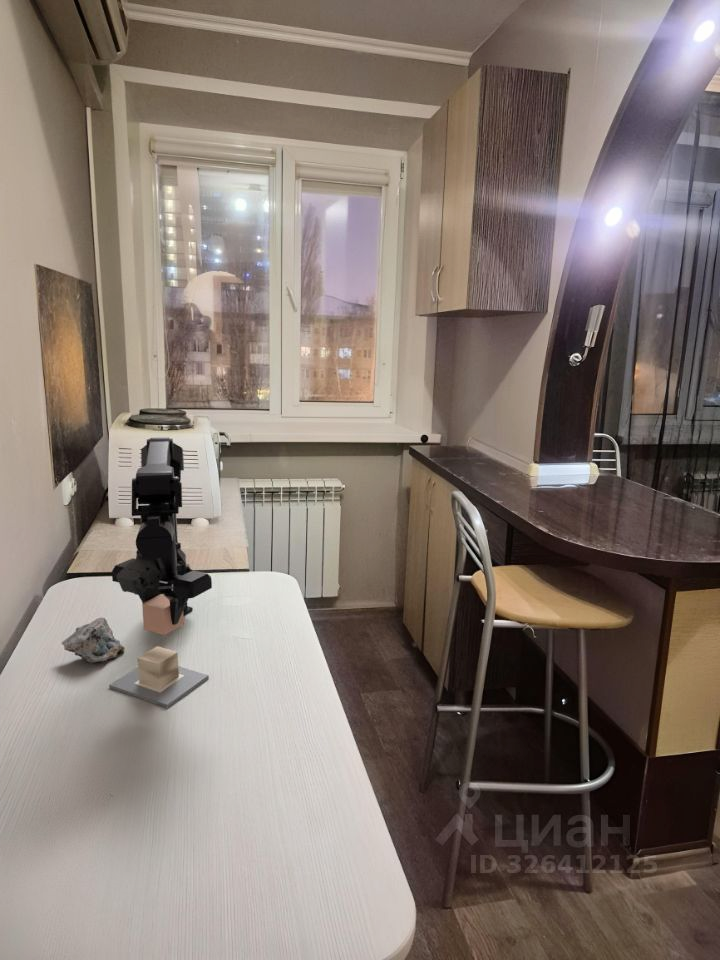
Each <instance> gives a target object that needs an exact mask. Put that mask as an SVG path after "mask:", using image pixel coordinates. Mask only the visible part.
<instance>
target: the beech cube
mask: <svg viewBox="0 0 720 960" xmlns="http://www.w3.org/2000/svg"><path fill="white" fill-rule="evenodd" d="M178 666H179V653H178V651H174V650H171V649H168V648H164V647H161V646H155V647H153V648H152V649H150V650H148V651H147V652H145V653H144V654H141V655H139V656H138V657H137V667H138V671H139V682H140V683H143V684H146V685H149V686H152V687H155V688H157V689H161V688H162V687H164V686H165V685H167V684H168V683H170V682H171V681H173V680H174V679H176V678H177V677H179V669H178Z"/></svg>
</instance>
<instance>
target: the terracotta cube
mask: <svg viewBox="0 0 720 960" xmlns="http://www.w3.org/2000/svg"><path fill="white" fill-rule="evenodd" d="M141 606H142V609H141V610H142V619H143V620H142V621H143V630H146V631H148V632H152V633H157V634H160V635H167V634H169V633H171V632H172V631H175V630H176V629H178V628H179V627H182V625H184V624H185V616H184V615H185V614H184V615H183V612H182V614H181V617H180V619H179V622H178V623H177V624H175V625H173V624H172V620H171V612H170V601H169V599H168V598H166V597H165V596H164V594H160V595H158V596H156V597H154V598H152V599H150V600H149V601H147V602H145V603H142V604H141Z"/></svg>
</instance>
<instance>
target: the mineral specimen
mask: <svg viewBox="0 0 720 960" xmlns="http://www.w3.org/2000/svg"><path fill="white" fill-rule="evenodd" d="M61 645H63V649H64V650H65V651H66V652H71V653H74V656H75V657H77V656H79V657H80V658H81V659H83V660H85V661H86V662H89V663H93V664H94V663H98V662H99V663H100V662H106V661H108V659H114V658H116V657H117V655H118V652H120V653H124V651H125V646H124V645H123V644H121V642H120V640H119V639H116V638H115V637H114V635H113V630H112V628H111V627H110V626H109V624H108V621H107V620H106V618H105V617H102V616H101V617H98V618H96V619H95V620H93V621H90V623H86V624H83V625H81V626H78V627H76V629H75V631H74V632H73V633H72V634H71V635H70V636H68V637H67V638H65V639H64V640H63V641H62V642H61Z"/></svg>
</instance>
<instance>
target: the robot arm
mask: <svg viewBox="0 0 720 960" xmlns="http://www.w3.org/2000/svg"><path fill="white" fill-rule="evenodd" d="M184 461H185V459H184V449H183V447H181V446H180V445H178V444H176V443H174V440H173V438H170V437H167V436H165V437H150V438H147V439H146V445H144V446H143V447H142V448H140V463H141V464H140V466H141V467H139V468H137V471H136V473H135V477H134V478H133V477H132V479H131V517H138V516H139V517H140V525H139V529H138V530H137V531H138V532H137V535H136V539H135V547H136V549H137V550H136V552H135V553H136V555H135V558H130V559H127V560H125V561H123V562H121V563H118V564H116V565H114V566H113V568H112V570H111V579H112V582H115V583H118V584H119V586H120V588H121V590H122V592H123V593H131V594H134V595H135V596H138V597H139V599H140V600H141V603H142V604H143V603H145V602H147V601H149V600H150V599H152V598H154V597H156V596H158V595H160V594H164V596H165V597H166V598H168V599H169V601H170V612H171V620H172V624H173V625H175V624H177V623H178V622H179V619H180V617H181V614H182V612H183V615H186V614H188V613H190V612H191V611H193V609H194V608H193V606H189V605H188V601H189V599H193V598H196V597H198V596H201V594H203V593H205V592H207V591H208V590H211V589H212V588H213V583H212V576H211V574H208V573H207V572H201V571H197V570H193V569H191V567H190V564H187V556H186V554H185V552H184V551H183V550H182V546H181V542H179V540H178V521H177V519H178V518H177V515H178V514H179V512H180V511H179V510H180V508H182V507H183V486H182V485H183V484H182V482H181V479H182V472H183V471H185V462H184Z"/></svg>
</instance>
